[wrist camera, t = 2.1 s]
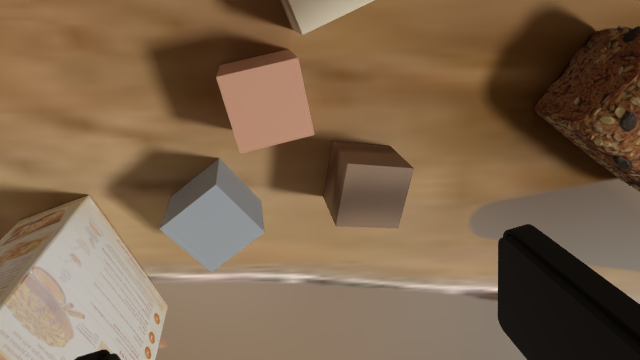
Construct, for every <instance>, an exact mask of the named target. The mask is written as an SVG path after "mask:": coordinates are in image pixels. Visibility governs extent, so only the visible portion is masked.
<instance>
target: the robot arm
mask: <svg viewBox="0 0 640 360" xmlns="http://www.w3.org/2000/svg"><path fill="white" fill-rule="evenodd" d="M498 320H499V323H500V325H501V327H502V329H503V331H504V332H505V333H506V334H507V336H508V337H509V338H510V339H511V340H512V341H513V343H514V344H515V345H516V347H517V348H518V349H519V350H520V351H521V352H522V354H523V355H524V356H525V357H526V358H527V360H640V304H638V303H637V302H636V301H634V300H633V299H632V298H630V297H629V296H627V295H626V294H625V293H623V292H622V291H621V290H619V289H618V288H617V287H615V286H614V285H613V284H611V283H610V282H608V281H607V280H606V279H604V278H603V277H602V276H600V275H599V274H598V273H596V272H595V271H594V270H592V269H591V268H590V267H588V266H587V265H585V264H584V263H583V262H581V261H580V260H579V259H577V258H576V257H575V256H573V255H572V254H571V253H569V252H568V251H567V250H565V249H564V248H562V247H561V246H560V245H558V244H557V243H556V242H554V241H553V240H552V239H550V238H549V237H548V236H546V235H545V234H543V233H542V232H541V231H539V230H538V229H537V228H535V227H534V226H532V225H529V224H527V225H523V226H519V227H516V228H513V229H510V230H507V231H505V232H504V234H503V238H501V239H500V240H499V243H498ZM74 360H121V359H120V357H119V356H118V355H117V354H115V353H113V354H110V352H109V351H107V350H105V349H104V350H100V351H96V352H93V353H89V354H86V355H83V356H79V357H77V358H76V359H74Z"/></svg>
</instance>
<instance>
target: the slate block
mask: <svg viewBox="0 0 640 360" xmlns="http://www.w3.org/2000/svg"><path fill="white" fill-rule="evenodd" d="M160 230H161V231H162V232H164V233H165V234H166V235H167V236H168V237H170V238H171V239H172V240H173V241H174V242H176V243H177V244H178V245H179V246H181V247H182V248H183V249H184V250H185V251H187V252H188V253H189V254H190V255H191V256H193V257H194V258H195V259H196V260H197V261H199V262H200V263H201V264H202V265H203V266H205V267H206V268H207V269H208V270H209V271H211V272H213V271H214V270H215V269H217V268H218V267H219V266H220V265H222V264H223V263H224V262H226V261H227V260H228V259H230V258H231V257H232V256H234V255H235V254H236V253H238V252H239V251H240V250H242V249H243V248H244V247H246V246H247V245H248V244H250V243H251V242H252V241H253V240H255V239H256V238H257V237H259V236H260V235H261V234H263V233H264V223H263V214H262V205H261V200H260V199H259V198H258V197H257V196H256V195H255V194H254V193H253V192H252V191H251V190H250V189H249V188H248V187H247V186H246V185H245V184H244V183H243V182H242V181H241V180H240V179H239V178H238V177H237V176H236V175H235V174H234V173H233V172H232V171H231V170H230V169H229V168H228V167H227V166H226V165H225V164H224V162H223V161H222V160H221V159H220V158H219V159H218V160H216V161H215V162H214V163H213V164H211V165H210V166H209V167H207V168H206V169H205V170H204V171H202V172H201V173H200V174H199V175H197V176H196V177H195V178H194V179H192V180H191V181H190V182H189V183H187V184H186V185H185V186H184V187H182V188H181V189H180V190H179V191H177V192H176V193H175V194H174V195H172V196H171V198H170V201H169V204H168V206H167V209H166V212H165V215H164V218H163V221H162V223H161V226H160Z"/></svg>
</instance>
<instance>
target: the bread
mask: <svg viewBox="0 0 640 360" xmlns="http://www.w3.org/2000/svg"><path fill="white" fill-rule="evenodd" d="M534 110H535V112H536V113H537V114H538V115H539V116H540V117H541V118H543V119H544V120H545V121H546V122H548V123H549V124H550V125H551V126H553V127H554V128H555V129H556V130H558V131H559V132H561V134H562V135H564V136H565V137H566V138H567V139H568V140H570V141H571V142H572V143H573V144H575V145H576V146H577V147H578V148H580V149H581V150H582V151H584V152H585V153H586V154H588V156H590V157H591V158H592V159H594V160H596V162H597V163H599V164H600V165H602V166H603V167H604V168H605V169H607V170H608V171H609V172H610V173H612V174H613V175H615V176H617V177H618V178H619V179H620V180H621V181H623V182H625V183H627V184H628V185H630V186H632V187H633V188H635V189H636V190H638V191H640V27H639V26H638V27H636V28H634V29H631V28H628V27H626V26H625V27H623V26H618V28H617V29H616V28H611V29H603V30H600V31H597V32H596V33H594V34H593V35H592V36H590V38H589V39H588V42H587V45H584V46H583V47H582V48H581V49H579V50H578V51H577V52H576V53H575V55H574V56H573V57H572V59H571V62H570V65H569V67H568V68H567V69H566V70H565V72H564V73H563V74H562V76H561V77H560V78H559V79H558V80H557V81H555V82H554V83H552V84H551V85H550V87H549V88H548V89H547V91H546V93H545V94H544V95H543V96H542V97H541V98H540V99H539V100H538V101H537V104H536V105H535V107H534Z"/></svg>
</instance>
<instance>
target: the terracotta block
mask: <svg viewBox="0 0 640 360" xmlns="http://www.w3.org/2000/svg"><path fill="white" fill-rule="evenodd" d="M216 78H217V81H218V85H219V88H220V91H221V94H222V97H223V101H224V104H225V107H226V110H227V113H228V117H229V120H230V123H231V126H232V129H233V133H234V136H235V139H236V142H237V145H238V149H239V152H240V154H241V153H245V152H249V151H253V150H257V149H261V148H265V147H269V146H273V145H277V144H281V143H285V142H289V141H293V140H297V139H300V138H304V137H308V136H312V135H314V130H313V125H312V121H311V116H310V111H309V107H308V102H307V97H306V93H305V88H304V83H303V79H302V74H301V69H300V65H299V60H298V57H297V56H296V55H294V54H293V53H292V52H291V51H290V50H289V49H287V50H283V51H278V52H274V53H270V54H266V55H261V56H257V57H253V58H248V59H244V60H240V61H235V62H231V63H227V64H222V65H220V66H219V69H218V73H217V76H216Z"/></svg>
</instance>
